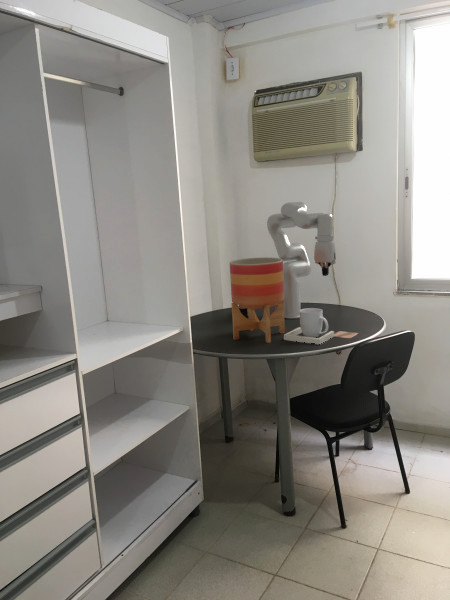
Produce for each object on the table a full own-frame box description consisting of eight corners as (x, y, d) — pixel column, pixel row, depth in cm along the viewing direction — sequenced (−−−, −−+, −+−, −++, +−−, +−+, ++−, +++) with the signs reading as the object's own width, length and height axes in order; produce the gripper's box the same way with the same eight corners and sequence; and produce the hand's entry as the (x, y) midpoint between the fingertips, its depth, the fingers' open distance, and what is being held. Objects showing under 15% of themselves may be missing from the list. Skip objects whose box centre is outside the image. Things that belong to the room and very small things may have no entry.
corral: (283, 339, 237) (283, 334, 237) (299, 332, 249) (299, 327, 249) (320, 344, 226) (320, 339, 226) (334, 336, 238) (334, 331, 238)
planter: (242, 346, 230) (238, 266, 223) (226, 333, 256) (221, 260, 248) (295, 339, 237) (293, 260, 230) (274, 326, 263) (271, 255, 256)
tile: (330, 336, 239) (330, 336, 239) (339, 331, 246) (339, 331, 246) (350, 338, 233) (350, 338, 233) (358, 333, 241) (358, 333, 240)
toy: (254, 300, 306) (251, 309, 277) (255, 311, 307) (252, 321, 278) (235, 301, 307) (230, 309, 278) (236, 312, 308) (231, 321, 279)
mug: (334, 336, 237) (334, 310, 235) (321, 342, 230) (320, 314, 227) (308, 332, 248) (308, 306, 245) (295, 337, 240) (294, 311, 238)
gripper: (308, 239, 247) (308, 275, 251) (335, 240, 238) (335, 277, 242) (314, 238, 253) (315, 273, 256) (342, 238, 244) (342, 275, 247)
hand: (325, 275), depth 249 cm, fingers closed
